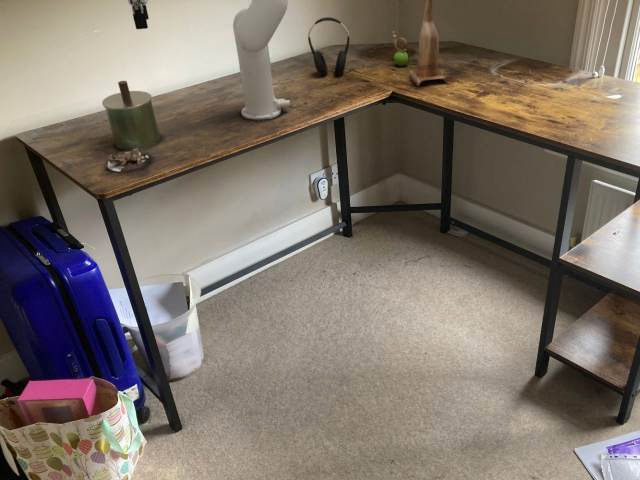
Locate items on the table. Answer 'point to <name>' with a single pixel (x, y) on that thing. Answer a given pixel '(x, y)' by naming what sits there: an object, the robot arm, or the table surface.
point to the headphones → (319, 58)
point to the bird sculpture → (427, 50)
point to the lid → (126, 98)
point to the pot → (134, 127)
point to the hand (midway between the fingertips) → (142, 24)
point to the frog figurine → (124, 159)
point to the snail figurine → (400, 51)
